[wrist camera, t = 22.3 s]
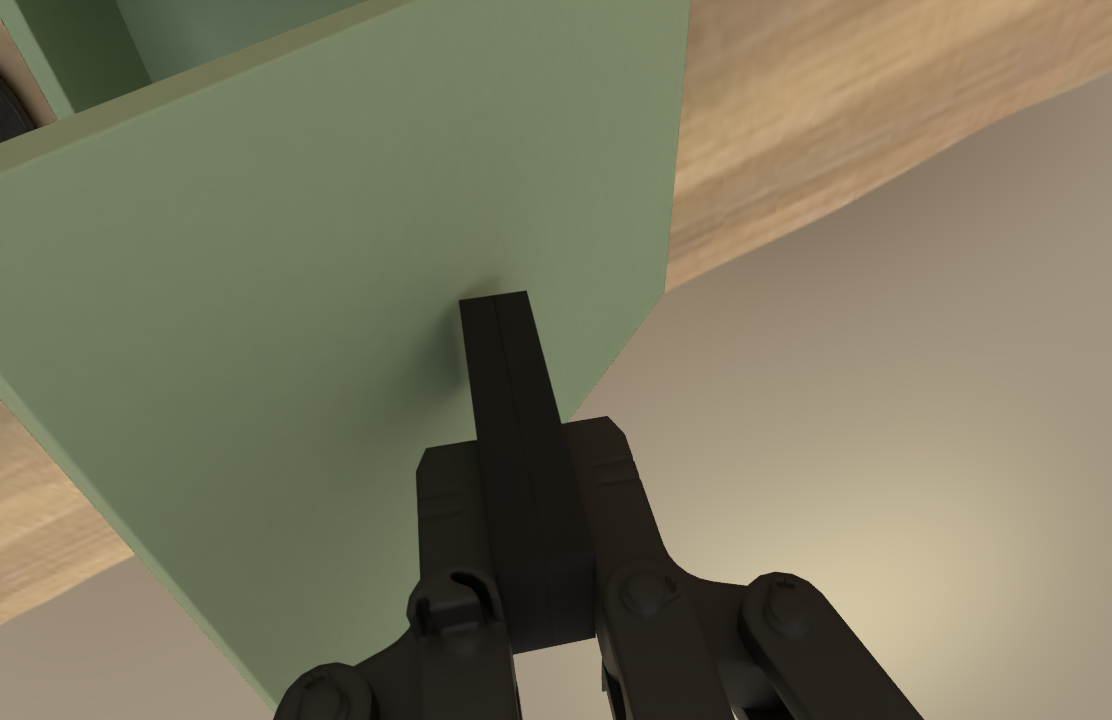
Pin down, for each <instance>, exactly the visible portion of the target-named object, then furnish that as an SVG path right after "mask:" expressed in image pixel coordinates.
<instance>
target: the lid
mask: <svg viewBox="0 0 1112 720" xmlns="http://www.w3.org/2000/svg"><path fill="white" fill-rule="evenodd" d="M690 3H691V0H367V1H365V2H362V3H359V4H357V5H354V6H352V7H349V8H347V9H344V10H341V11H339V12H336V13H334V14H331V15H329V16H326V17H323V18H321V19H318V20H316V21H313V22H311V23H308V24H305V25H303V26H300V27H298V28H295V29H293V30H290V31H287V32H285V33H282V34H280V35H277V36H275V37H272V38H269V39H267V40H264V41H262V42H259V43H257V44H254V45H251V46H249V47H246V48H244V49H241V50H239V51H236V52H233V53H231V54H228V55H226V56H223V57H221V58H218V59H215V60H213V61H210V62H208V63H205V64H203V65H200V66H197V67H195V68H192V69H190V70H187V71H185V72H182V73H179V74H177V75H174V76H172V77H169V78H167V79H164V80H161V81H159V82H156V83H154V84H151V85H148V86H146V87H143V88H141V89H138V90H136V91H133V92H130V93H128V94H125V95H123V96H120V97H118V98H115V99H112V100H110V101H107V102H105V103H102V104H100V105H97V106H94V107H92V108H89V109H87V110H84V111H82V112H79V113H76V114H74V115H71V116H69V117H66V118H64V119H61V120H58V121H56V122H53V123H51V124H48V125H46V126H43V127H40V128H38V129H35V130H33V131H30V132H28V133H25V134H22V135H20V136H17V137H15V138H12V139H10V140H7V141H4V142H2V143H0V400H1V401H2V402H3V403H4V404H5V405H6V406H7V408H8V409H9V410H10V411H11V412H12V413H13V414H14V416H15V417H16V418H17V419H18V420H19V421H20V422H21V424H22V425H23V426H24V427H25V428H26V429H27V430H28V432H29V433H30V434H31V435H32V436H33V437H34V438H35V440H36V441H37V442H38V443H39V444H40V445H41V446H42V448H43V449H44V450H45V451H46V452H47V453H48V454H49V456H50V457H51V458H52V459H53V460H54V461H55V463H56V464H57V465H58V466H59V467H60V468H61V469H62V471H63V472H64V473H65V474H66V475H67V476H68V477H69V479H70V480H71V481H72V482H73V483H74V484H75V485H76V487H77V488H78V489H79V490H80V491H81V492H82V493H83V495H84V496H85V497H86V498H87V499H88V500H89V501H90V503H91V504H92V505H93V506H94V507H95V508H96V509H97V511H98V512H99V513H100V514H101V515H102V516H103V517H104V519H105V520H106V521H107V522H108V523H109V524H110V525H111V527H112V528H113V529H114V530H115V531H116V532H117V533H118V535H119V536H120V537H121V538H122V539H123V540H124V541H125V543H126V544H127V545H128V546H129V547H130V548H131V549H132V551H133V552H134V553H135V554H136V555H137V556H138V557H139V559H140V560H141V561H142V562H143V563H144V564H145V566H146V567H147V568H148V569H149V570H150V571H151V572H152V573H153V575H154V576H155V577H156V578H157V579H158V580H159V581H160V583H161V584H162V585H163V586H164V587H165V588H166V589H167V591H168V592H169V593H170V594H171V595H172V596H173V598H174V599H175V600H176V601H177V602H178V603H179V604H180V606H181V607H182V608H183V609H184V610H185V611H186V612H187V613H188V615H189V616H190V617H191V618H192V619H193V620H194V622H195V623H196V624H197V625H198V626H199V627H200V628H201V630H202V631H203V632H204V633H205V634H206V635H207V636H208V638H209V639H210V640H211V641H212V642H213V643H214V644H215V646H216V647H217V648H218V649H219V650H220V651H221V652H222V654H223V655H224V656H225V657H226V658H227V659H228V660H229V662H230V663H231V664H232V665H233V666H234V667H235V669H236V670H237V671H238V672H239V673H240V674H241V675H242V677H243V678H244V679H245V680H246V681H247V682H248V683H249V685H250V686H251V687H252V688H253V689H254V690H255V691H256V692H257V694H258V695H259V696H260V697H261V698H262V699H263V701H264V702H265V703H266V704H267V705H268V706H269V707H270V708H271V710H272V711H273V712H274V713H276V710H277V707H278V706H279V704H280V702H281V700H282V698H283V696H284V694H285V692H286V690H287V689H288V688H289V687H290V686H291V685H292V684H293V683H294V682H295V681H296V680H297V679H298V678H299V677H300V676H301V675H302V674H303V673H305V672H307V671H309V670H311V669H313V668H315V667H316V666H318V665H322V664H328V663H334V662H339V663H343V664H347V665H351V666H355V665H356V664H358V663H360V662H362V661H364V660H366V659H367V658H369V657H371V656H373V655H375V654H376V653H378V652H380V651H382V650H384V649H385V648H387V647H388V646H390V645H391V644H393V643H394V642H395V641H397V640H398V639H399V638H400V637H401V636H402V635H403V634H404V633H405V632H406V631H407V630H408V628H409V627H410V623H409V621H408V618H407V616H406V611H407V605H408V600H409V596H410V594H411V593H412V591H413V589H414V588H415V586H416V585H417V583H418V581H420V564H419V540H418V516H417V491H416V470H417V467H418V465H419V463H420V460H421V458H422V456H423V454H424V451H425V449H426V448H429V447H435V446H441V445H447V444H453V443H459V442H465V441H471V440H477V435H476V428H475V420H474V413H473V405H472V398H471V390H470V383H469V375H468V368H467V360H466V353H465V345H464V337H463V330H462V322H461V315H460V307H459V300H463V299H470V298H477V297H484V296H491V295H498V294H504V293H511V292H518V291H525V290H527V293H528V297H529V301H530V305H531V309H532V312H533V316H534V320H535V324H536V328H537V331H538V335H539V339H540V343H541V347H542V351H543V354H544V358H545V362H546V366H547V370H548V373H549V377H550V381H551V385H552V389H553V392H554V396H555V400H556V404H557V408H558V412H559V415H560V419H561V423H562V424H563V423H567V422H568V421H569V420H570V418H571V417H572V416H573V414H574V413H575V412H576V410H577V409H578V408H579V406H580V405H581V404H582V402H583V401H584V399H585V398H586V397H587V396H588V394H589V393H590V392H591V390H592V389H593V388H594V386H595V385H596V383H597V382H598V381H599V379H600V378H601V377H602V375H603V374H604V373H605V371H606V370H607V369H608V367H609V366H610V365H611V363H612V362H613V361H614V359H615V358H616V357H617V355H618V354H619V353H620V351H621V350H622V349H623V347H624V346H625V345H626V343H627V342H628V341H629V339H630V338H631V336H632V335H633V334H634V332H635V331H636V330H637V328H638V327H639V326H640V325H641V323H642V322H643V320H644V319H645V318H646V316H647V315H648V314H649V312H650V311H651V310H652V308H653V307H654V306H655V304H656V303H657V302H658V300H659V299H660V298H661V296H662V295H663V294H664V290H665V279H666V268H667V257H668V246H669V235H670V224H671V213H672V202H673V190H674V179H675V168H676V157H677V146H678V135H679V124H680V113H681V102H682V91H683V80H684V69H685V58H686V47H687V36H688V25H689V14H690Z"/></svg>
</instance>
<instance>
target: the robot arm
mask: <svg viewBox="0 0 1112 720" xmlns="http://www.w3.org/2000/svg"><path fill="white" fill-rule="evenodd" d="M459 307H460V315H461V322H462V330H463V337H464V345H465V353H466V360H467V368H468V375H469V383H470V390H471V398H472V405H473V413H474V420H475V428H476V435H477V440H471V441H465V442H459V443H453V444H447V445H441V446H435V447H429V448H426V449H425V451H424V454H423V456H422V458H421V460H420V463H419V465H418V467H417V470H416V491H417V516H418V540H419V564H420V581H418V583H417V585H416V586H415V588H414V589H413V591H412V593H411V594H410V596H409V600H408V605H407V611H406V616H407V618H408V621H409V623H410V627H409V628H408V630H407V631H406V632H405V633H404V634H403V635H402V636H401V637H400V638H399V639H398V640H397V641H395V642H394V643H393V644H391V645H390V646H388V647H387V648H385V649H384V650H382V651H380V652H378V653H376V654H375V655H373V656H371V657H369V658H367V659H366V660H364V661H362V662H360V663H358V664H356V665H355V666H351V665H347V664H343V663H339V662H334V663H328V664H322V665H318V666H316V667H315V668H313V669H311V670H309V671H307V672H305V673H303V674H302V675H301V676H300V677H299V678H298V679H297V680H296V681H295V682H294V683H293V684H292V685H291V686H290V687H289V688H288V689H287V690H286V692H285V694H284V696H283V698H282V700H281V702H280V704H279V706H278V707H277V710H276V713H275V716H274V719H273V720H523V719H522V712H521V705H520V698H519V692H518V686H517V681H516V674H515V667H514V660H513V655H514V654H519V653H523V652H528V651H532V650H538V649H542V648H548V647H553V646H557V645H562V644H567V643H572V642H576V641H581V640H586V639H591V638H595V637H596V634H597V638H598V642H599V646H600V651H601V655H602V691H607V695H608V699H609V703H610V708H611V712H612V716H613V720H735V718H734V715H733V713H732V710H733V712H734V714H735V715H736V717H737V718H738V720H924V719H923V718H922V716H921V715H920V714H919V713H918V712H917V710H916V709H915V708H914V707H913V705H912V704H911V703H910V702H909V700H908V699H907V698H906V697H905V696H904V694H903V693H902V692H901V690H900V689H899V688H898V687H897V686H896V684H895V683H894V682H893V681H892V679H891V678H890V677H889V676H888V675H887V673H886V672H885V671H884V669H883V668H882V667H881V666H880V665H879V663H878V662H877V661H876V660H875V659H874V657H873V656H872V655H871V653H870V652H869V651H868V650H867V648H866V647H865V646H864V645H863V643H862V642H861V641H860V640H859V638H858V637H857V636H856V635H855V634H854V632H853V631H852V630H851V629H850V628H849V626H848V625H847V624H846V622H845V621H844V620H843V619H842V617H841V616H840V615H839V614H838V613H837V611H836V610H835V609H834V608H833V606H832V605H831V604H830V603H829V601H828V600H827V599H826V598H825V596H824V595H823V594H822V593H821V592H820V591H819V590H818V589H816V588H815V587H814V586H813V585H812V584H811V583H810V582H808V581H806V580H804V579H802V578H800V577H798V576H796V575H793V574H789V573H781V572H772V573H769V574H764V575H760V576H759V577H757V578H756V579H755V580H754V581H753V582H751V583H750V584H749V585H748V586H744V585H736V584H729V583H721V582H713V581H708V580H704V579H700V578H698V577H696V576H694V575H691V574H689V573H687V572H686V571H685V570H683V569H682V568H681V567H679V566H678V565H677V564H676V563H675V562H674V561H673V560H672V558H671V557H670V556H669V554H668V552H667V550H666V548H665V546H664V545H663V542H662V539H661V536H660V533H659V530H658V527H657V525H656V522H655V519H654V516H653V513H652V510H651V508H650V505H649V502H648V499H647V496H646V493H645V490H644V488H643V485H642V482H641V480H640V478H639V474H638V471H637V468H636V465H635V462H634V461H633V456H632V454H631V450H630V448H629V445H628V442H627V439H626V436H625V434H624V433H623V432H622V431H621V430H620V429H619V428H618V427H617V425H616V424H615V423H614V422H613V421H612V420H611V419H610V418H609V417H608V416H604V417H598V418H593V419H586V420H581V421H575V422H569V423H563V424H562V423H561V419H560V415H559V412H558V408H557V404H556V400H555V396H554V392H553V389H552V385H551V381H550V377H549V373H548V370H547V366H546V362H545V358H544V354H543V351H542V347H541V343H540V339H539V335H538V331H537V328H536V324H535V320H534V316H533V312H532V309H531V305H530V301H529V297H528V293H527V290H525V291H518V292H511V293H504V294H498V295H491V296H484V297H477V298H470V299H463V300H459ZM731 709H732V710H731Z"/></svg>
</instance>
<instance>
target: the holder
mask: <svg viewBox="0 0 1112 720" xmlns="http://www.w3.org/2000/svg"><path fill="white" fill-rule="evenodd" d="M33 130H35V127H34V125H33V124H32V122H31V121H30V119H29V117H28V116H27V114H26V113H25V111H24V109H23V108H22V106H21V104H20V103H19V101H18V100H17V98H16V97H15V95H14V94H13V92H12V91H11V89H10V88H9V87H8V86H7V85H6V84H5V83H4V81H3V80H2V79H1V78H0V143H2V142H4V141H7V140H10V139H12V138H15V137H17V136H20V135H22V134H25V133H28V132H30V131H33Z"/></svg>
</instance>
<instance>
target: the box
mask: <svg viewBox="0 0 1112 720" xmlns="http://www.w3.org/2000/svg"><path fill="white" fill-rule="evenodd" d="M365 1H367V0H0V18H1V20H2V21H3V23H4V25H5V27H6V29H7V30H8V32H9V34H10V36H11V38H12V39H13V41H14V43H15V45H16V47H17V48H18V50H19V52H20V54H21V55H22V57H23V59H24V61H25V63H26V64H27V66H28V68H29V70H30V72H31V73H32V75H33V77H34V79H35V80H36V82H37V84H38V86H39V88H40V89H41V91H42V93H43V95H44V97H45V98H46V100H47V102H48V104H49V106H50V107H51V109H52V111H53V113H54V114H55V116H56V118H57V120H61V119H64V118H66V117H69V116H71V115H74V114H76V113H79V112H82V111H84V110H87V109H89V108H92V107H94V106H97V105H100V104H102V103H105V102H107V101H110V100H112V99H115V98H118V97H120V96H123V95H125V94H128V93H130V92H133V91H136V90H138V89H141V88H143V87H146V86H148V85H151V84H154V83H156V82H159V81H161V80H164V79H167V78H169V77H172V76H174V75H177V74H179V73H182V72H185V71H187V70H190V69H192V68H195V67H197V66H200V65H203V64H205V63H208V62H210V61H213V60H215V59H218V58H221V57H223V56H226V55H228V54H231V53H233V52H236V51H239V50H241V49H244V48H246V47H249V46H251V45H254V44H257V43H259V42H262V41H264V40H267V39H269V38H272V37H275V36H277V35H280V34H282V33H285V32H287V31H290V30H293V29H295V28H298V27H300V26H303V25H305V24H308V23H311V22H313V21H316V20H318V19H321V18H323V17H326V16H329V15H331V14H334V13H336V12H339V11H341V10H344V9H347V8H349V7H352V6H354V5H357V4H359V3H362V2H365Z"/></svg>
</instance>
